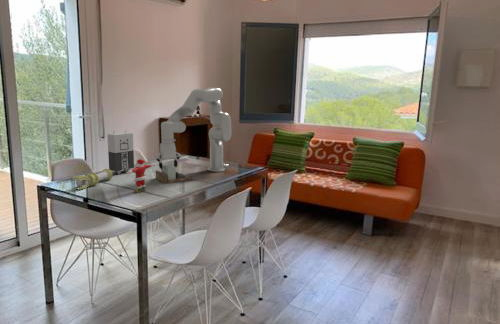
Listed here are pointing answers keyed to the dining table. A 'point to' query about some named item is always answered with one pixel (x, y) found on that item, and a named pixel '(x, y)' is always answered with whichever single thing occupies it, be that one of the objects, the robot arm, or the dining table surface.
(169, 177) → the pale green block
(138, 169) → the santa figurine
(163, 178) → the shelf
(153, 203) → the dining table surface
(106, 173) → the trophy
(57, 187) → the dining table surface
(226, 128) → the robot arm
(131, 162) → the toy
